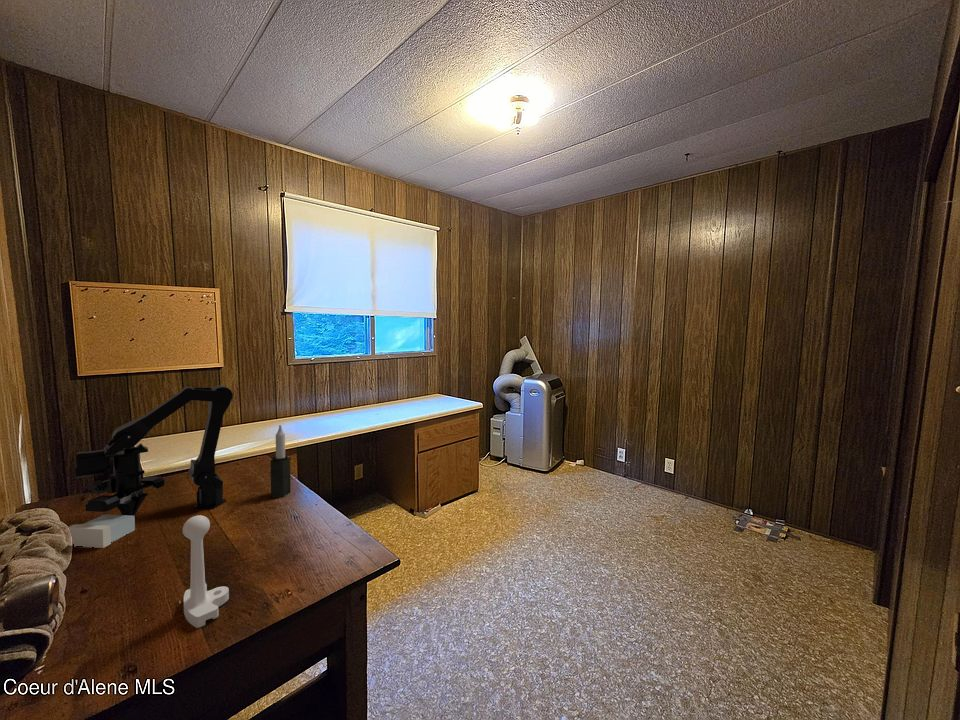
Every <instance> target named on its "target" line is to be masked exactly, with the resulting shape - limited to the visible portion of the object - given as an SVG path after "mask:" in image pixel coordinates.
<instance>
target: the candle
mask: <svg viewBox="0 0 960 720" xmlns="http://www.w3.org/2000/svg"><path fill="white" fill-rule="evenodd" d="M290 492H291V457H289V456H288V455H287V454H286V434H285V432H284V431H283V427H282V424H279V425H278V430H277V432H276V434H275V456H274V457H272V459H271V460H270V497H271V496H272V497H273V498H279V497H281V498H284V497H285V495H286V496H287V495H289V494H288V493H290ZM290 494H291V493H290Z"/></svg>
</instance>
